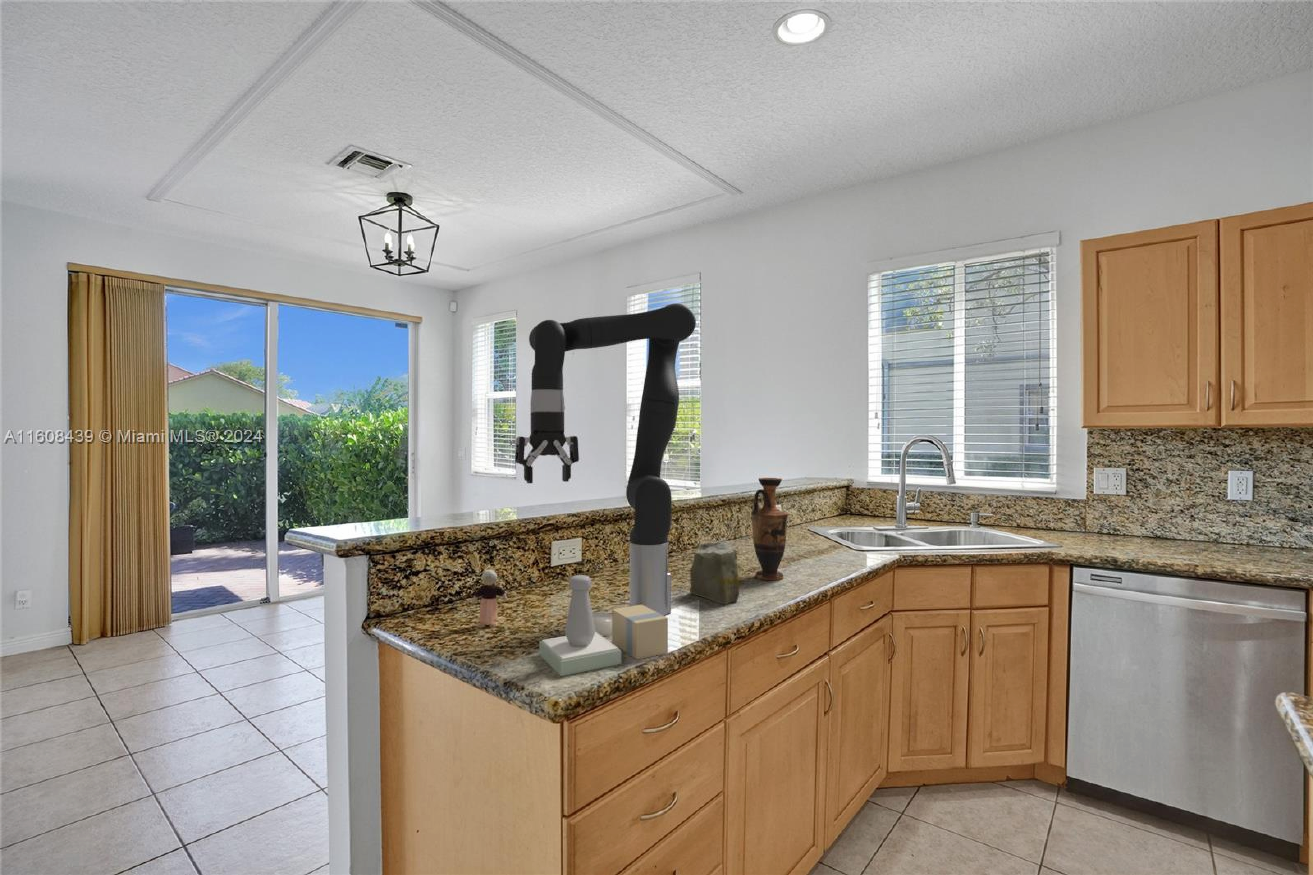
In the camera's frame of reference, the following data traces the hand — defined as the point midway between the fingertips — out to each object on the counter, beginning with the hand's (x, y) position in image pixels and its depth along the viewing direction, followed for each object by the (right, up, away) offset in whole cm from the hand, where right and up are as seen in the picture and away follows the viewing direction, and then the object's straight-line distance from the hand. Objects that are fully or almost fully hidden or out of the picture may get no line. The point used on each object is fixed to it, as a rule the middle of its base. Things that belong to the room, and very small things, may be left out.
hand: (547, 482), depth 138 cm
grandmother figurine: (-13, -33, 0) cm, 35 cm away
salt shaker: (+10, -30, -20) cm, 37 cm away
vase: (+59, -32, +46) cm, 81 cm away
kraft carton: (+21, -33, -14) cm, 41 cm away
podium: (+10, -33, -20) cm, 40 cm away
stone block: (+42, -33, +25) cm, 59 cm away
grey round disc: (+12, -32, -4) cm, 35 cm away
